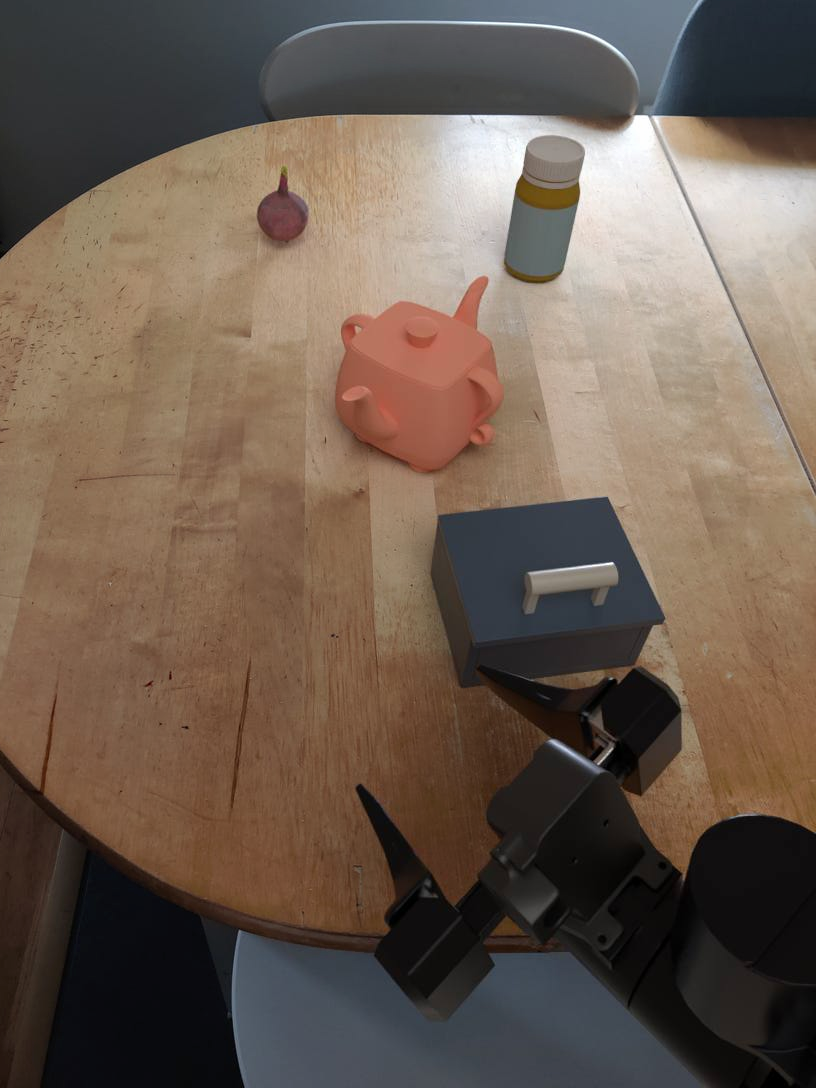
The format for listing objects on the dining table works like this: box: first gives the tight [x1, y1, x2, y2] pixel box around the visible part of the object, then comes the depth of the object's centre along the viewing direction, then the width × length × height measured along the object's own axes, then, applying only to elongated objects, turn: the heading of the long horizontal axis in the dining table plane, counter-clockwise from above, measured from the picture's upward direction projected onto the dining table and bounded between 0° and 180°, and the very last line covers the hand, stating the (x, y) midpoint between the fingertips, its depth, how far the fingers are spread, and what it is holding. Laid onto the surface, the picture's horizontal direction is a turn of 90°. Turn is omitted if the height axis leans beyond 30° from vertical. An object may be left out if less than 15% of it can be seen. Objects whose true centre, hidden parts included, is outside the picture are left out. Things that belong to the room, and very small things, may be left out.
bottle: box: [503, 134, 586, 284], centre depth 99 cm, size 7×7×15 cm
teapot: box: [334, 275, 505, 473], centre depth 81 cm, size 15×17×13 cm
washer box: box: [430, 522, 654, 689], centre depth 68 cm, size 11×14×7 cm
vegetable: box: [256, 165, 310, 244], centre depth 104 cm, size 6×6×10 cm
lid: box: [436, 495, 666, 648], centre depth 64 cm, size 11×14×5 cm
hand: (420, 727), depth 48 cm, fingers open, 9 cm apart
